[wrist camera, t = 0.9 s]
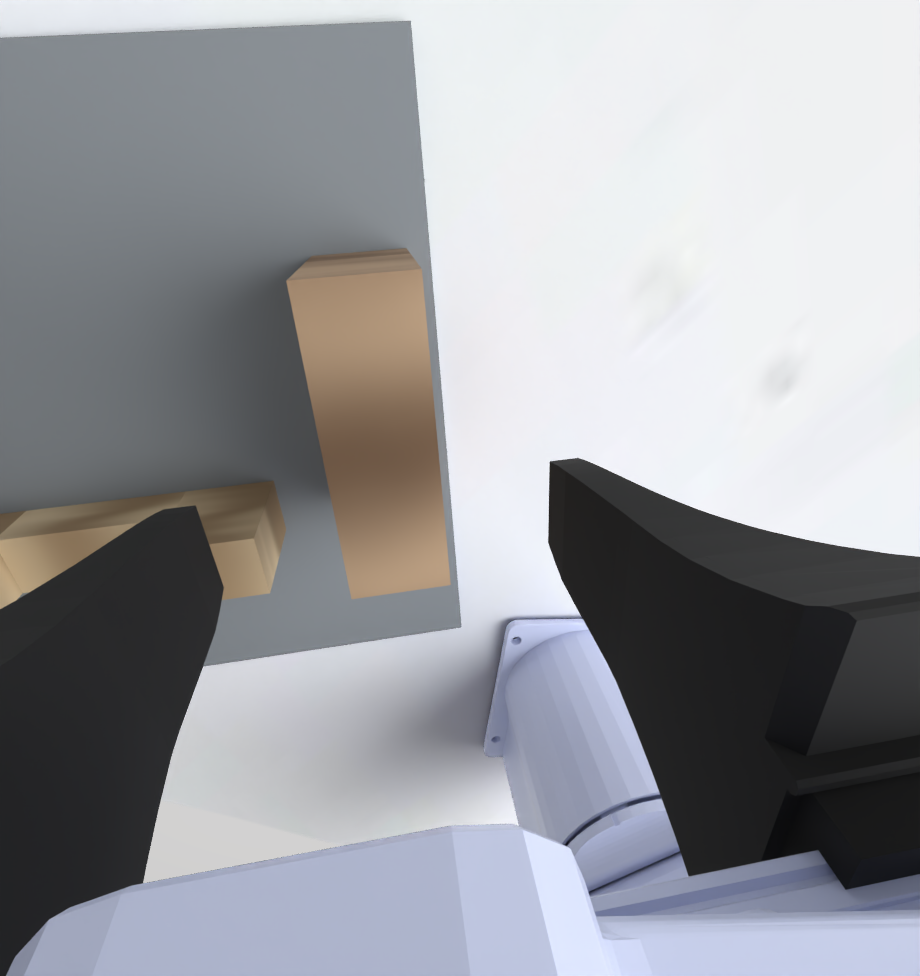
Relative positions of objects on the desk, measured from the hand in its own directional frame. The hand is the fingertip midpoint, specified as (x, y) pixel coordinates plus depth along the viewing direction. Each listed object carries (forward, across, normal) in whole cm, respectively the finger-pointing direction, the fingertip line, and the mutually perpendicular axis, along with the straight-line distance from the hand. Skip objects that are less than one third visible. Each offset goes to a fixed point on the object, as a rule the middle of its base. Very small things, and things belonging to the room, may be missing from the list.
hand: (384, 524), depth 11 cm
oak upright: (+9, +10, +4) cm, 15 cm away
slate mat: (+10, +7, +1) cm, 12 cm away
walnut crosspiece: (+9, 0, 0) cm, 9 cm away
